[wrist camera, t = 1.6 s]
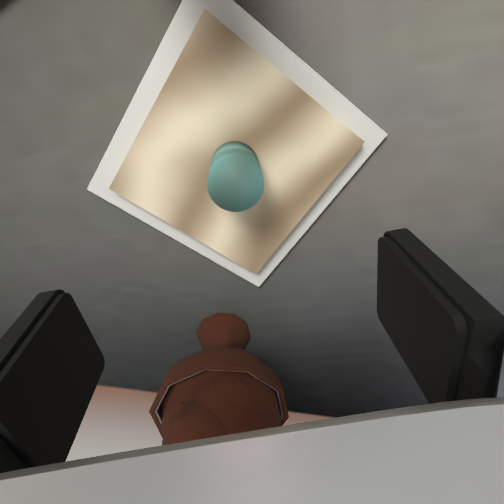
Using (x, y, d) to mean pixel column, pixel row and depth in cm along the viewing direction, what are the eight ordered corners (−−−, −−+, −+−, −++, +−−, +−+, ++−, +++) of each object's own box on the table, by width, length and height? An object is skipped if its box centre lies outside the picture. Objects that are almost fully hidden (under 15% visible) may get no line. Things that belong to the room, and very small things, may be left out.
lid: (360, 139, 26) (392, 156, 21) (255, 268, 31) (260, 308, 26) (205, 11, 22) (197, -8, 17) (112, 184, 27) (83, 212, 22)
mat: (385, 133, 27) (387, 134, 26) (258, 284, 33) (259, 287, 32) (198, -29, 21) (197, -31, 21) (88, 187, 27) (86, 189, 27)
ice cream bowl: (188, 378, 38) (164, 541, 25) (157, 300, 33) (107, 453, 20) (280, 362, 38) (306, 519, 25) (264, 280, 32) (286, 424, 19)
